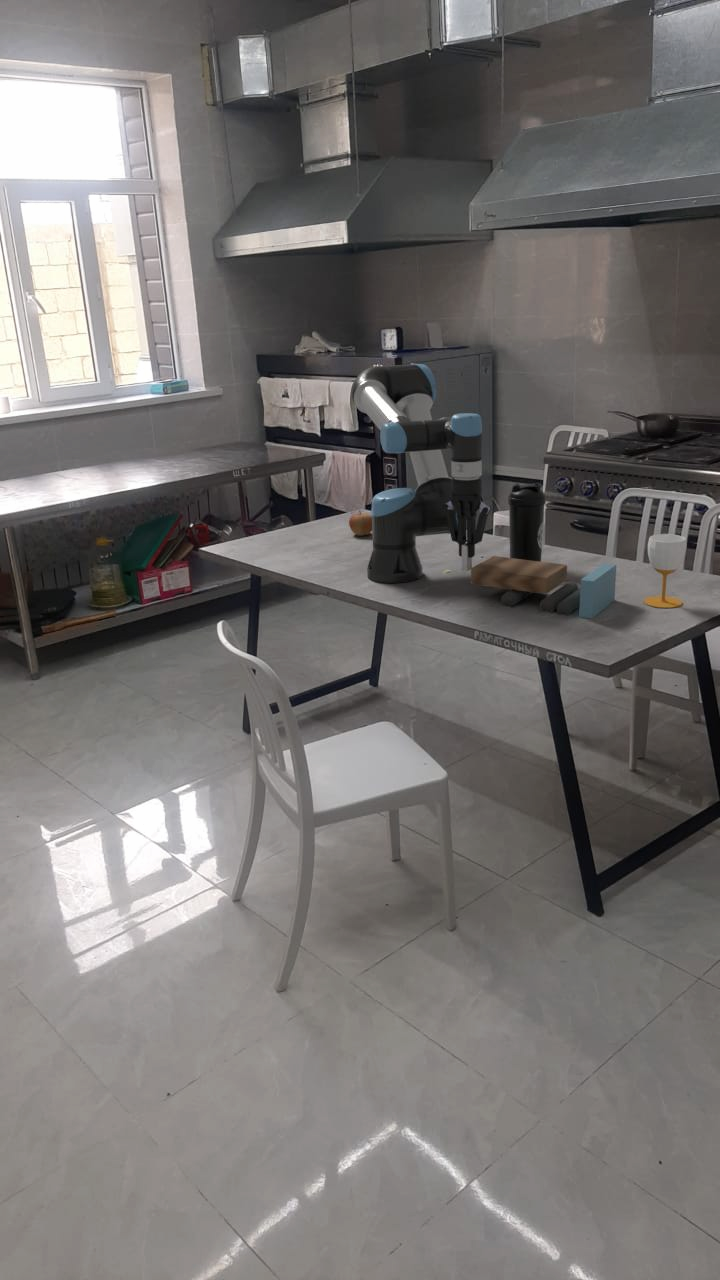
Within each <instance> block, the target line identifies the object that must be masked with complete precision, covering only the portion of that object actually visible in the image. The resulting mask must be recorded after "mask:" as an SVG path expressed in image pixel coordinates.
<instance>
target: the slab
mask: <svg viewBox="0 0 720 1280" xmlns="http://www.w3.org/2000/svg"><path fill="white" fill-rule="evenodd" d="M567 573H568V564H562V563H554V562H547V561H541V562H539V561H531V560H523V559H514V558H510V557H505V556H496V555H494V556H491V557H489V558H488V559H486V560H484V561H482V562H480V563H478V564H476V565H474V566H472V568H471V569H470V584H471V585H478V586H485V587H493V588H499V589H505V590H506V589H507V590H512V589H513V590H520V591H527V592H533V593H536V594H542V595H547V594H548V593H550V592H551V591H553V590H554V589H557V587H559V586H560V585H562V584H563V583H565V582H566V581H567V578H568V577H567V576H568V575H567Z"/></svg>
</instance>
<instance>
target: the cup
mask: <svg viewBox="0 0 720 1280" xmlns="http://www.w3.org/2000/svg"><path fill="white" fill-rule="evenodd" d="M687 544H688V543H687V538H686V537H684V536H682V535H679V534H673V533H672V534H670V533H661V534H653V535H650V536H649V538H648V542H647V555H648V561H649V563H650V565H651V568H653V569H654V571H656V572H657V573H659V574H661V575H662V588H661V595H655V596H649V597H646V598H644V600H643V603H644V604H645V605H646V606H647V607H648V606H649V607H652V608H657V609H675V608H679V607H681V606H682V605H683V601H682V600H681V599H678V598H676V597H673V596H666V590H667V589H666V588H667V577H668V575H670V574H673V573H675V572H676V571H678V569H679V568H680V567H681V565H682V564H683V561H684V559H685V556H686V552H687Z"/></svg>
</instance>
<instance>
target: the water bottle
mask: <svg viewBox="0 0 720 1280" xmlns="http://www.w3.org/2000/svg"><path fill="white" fill-rule="evenodd" d="M542 485H543V484H542V483H540V482H536V483H535V482H533V483H528V484H524V485H523V484H522V485H521V484H520V483H518V482H515V483H513V485H512V490H511V491H510V493H509V495H508V496H507V504H508V505H509V506H508V511H509V513H508V514H509V515H508V517H509V518H508V519H509V558H514V559H523V560H531V561H539V562H542V553H543V551H542V549H543V537H544V536H543V534H544V521H545V520H544V516H545V515H544V514H545V506H546V503H547V496H546V495H545V493H544V491H543V490H542V489H541V488H542Z"/></svg>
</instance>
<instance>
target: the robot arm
mask: <svg viewBox="0 0 720 1280" xmlns="http://www.w3.org/2000/svg"><path fill="white" fill-rule="evenodd" d="M436 396H437V388H436V380H435V377H434V373H433V372H432V370H431V368H430V367H429V366H427V365H426V364H423V363H408V364H396V365H392V364H391V365H376V366H375V365H374V366H371V367H369V368H366V369H365V370H363V371H362V372H361V373H359V374H358V375H357V377H356V378H355V380H354V381H353V383H352V386H351V391H350V397H351V400H352V402H353V404H354V406H355V407H356V408H357V409H358V410H359V412H361V413H363V414H366V415H367V416H368V417H369V419H370V420H371V421H372V422H373V424H375V426H376V427H377V428H378V429H379V439H380V440H379V441H380V445H381V448H382V451H383V452H384V453H386V454H397V455H399V454H403V453H405V454H406V453H409V455H410V459H411V463H412V466H413V470H414V475H415V478H416V482H417V487H416V488H415V489H413V488H412V487H395V488H391V489H387V490H383V491H381V492H379V493H377V494H375V495H374V496H373V498H372V501H371V511H370V515H371V516H372V531H371V533H372V551H371V554H370V558H369V562H368V566H367V569H366V570H367V571H366V572H367V578H368V579H369V580H372V581H374V582H378V583H386V584H399V583H407V582H409V583H410V582H412V581H416V580H418V579H420V578H422V576H423V573H424V572H423V565H422V563H421V560H420V556H419V554H418V551H417V545H416V539H417V537H422V536H434V535H435V536H436V535H444V534H448V535H450V538H451V541H452V542H455V543H457V544H458V556H459V557H461V571H469V570H471V568H473V558H474V557H475V555H476V551H475V549H476V547H475V545H476V544H479V543H481V542H482V541H483V537H484V532H485V528H486V525H487V520H488V515H489V514H490V512H491V511H492V506H491V505H487V504H486V503H484V500H483V498H482V489H483V487H482V485H483V483H482V482H483V480H482V478H481V476H482V475H483V472H482V470H483V469H482V466H483V464H482V463H483V461H482V458H483V456H482V455H483V454H482V453H483V452H482V450H483V449H482V448H483V446H482V445H483V426H482V422H483V421H482V417H481V415H480V414H478V413H471V412H469V413H467V412H465V413H456V414H453V415H452V416H450V417H449V416H448V417H446V416H445V417H441V418H439V419H433V418H432V415H431V408H432V407H433V404H434V402H435V400H436V398H437V397H436ZM442 450H450V454H451V456H450V457H451V458H450V461H451V466H450V468H451V477H450V476H449V474H448V471H447V466H446V464H445V460H444V456H443V452H442ZM478 511H479V516H478V518H477V512H478ZM476 519H478V520H476ZM476 521H477V524H476Z"/></svg>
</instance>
